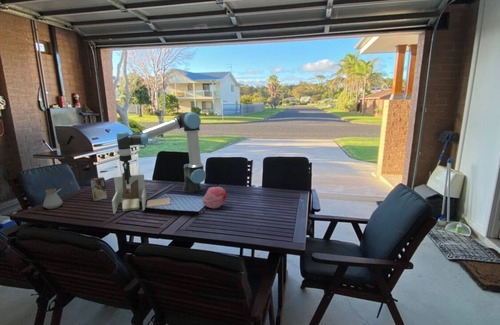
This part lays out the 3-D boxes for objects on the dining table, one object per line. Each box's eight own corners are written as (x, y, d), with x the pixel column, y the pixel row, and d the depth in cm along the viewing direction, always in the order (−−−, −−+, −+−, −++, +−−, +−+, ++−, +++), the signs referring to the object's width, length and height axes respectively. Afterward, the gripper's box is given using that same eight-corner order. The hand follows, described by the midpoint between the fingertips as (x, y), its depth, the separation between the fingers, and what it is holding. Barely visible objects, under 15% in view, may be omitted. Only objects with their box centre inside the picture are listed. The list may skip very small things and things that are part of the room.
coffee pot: (50, 211, 186) (47, 190, 183) (39, 208, 190) (36, 188, 187) (79, 201, 205) (76, 181, 202) (69, 199, 210) (66, 180, 207)
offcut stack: (139, 200, 191) (139, 197, 188) (140, 209, 187) (139, 206, 184) (122, 202, 187) (121, 199, 184) (122, 212, 183) (122, 209, 180)
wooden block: (135, 199, 190) (135, 175, 186) (121, 198, 191) (120, 173, 187) (138, 198, 193) (138, 173, 189) (125, 196, 195) (124, 172, 191)
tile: (169, 198, 208) (169, 197, 207) (170, 204, 195) (170, 203, 194) (147, 201, 203) (147, 200, 202) (146, 207, 190) (146, 206, 189)
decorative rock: (233, 197, 192) (222, 179, 193) (229, 201, 178) (216, 182, 179) (212, 210, 196) (201, 193, 196) (206, 216, 182) (194, 197, 182)
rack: (146, 199, 206) (143, 174, 202) (145, 209, 186) (142, 181, 182) (117, 203, 200) (114, 176, 196) (112, 213, 179) (109, 184, 175)
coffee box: (106, 196, 215) (103, 176, 212) (107, 198, 210) (105, 178, 207) (93, 198, 210) (90, 178, 207) (94, 200, 205) (91, 180, 202)
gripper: (120, 153, 192) (124, 184, 197) (117, 157, 176) (121, 191, 181) (132, 152, 195) (135, 183, 199) (129, 156, 178) (133, 190, 183)
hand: (129, 187), depth 190 cm, fingers open, 5 cm apart
